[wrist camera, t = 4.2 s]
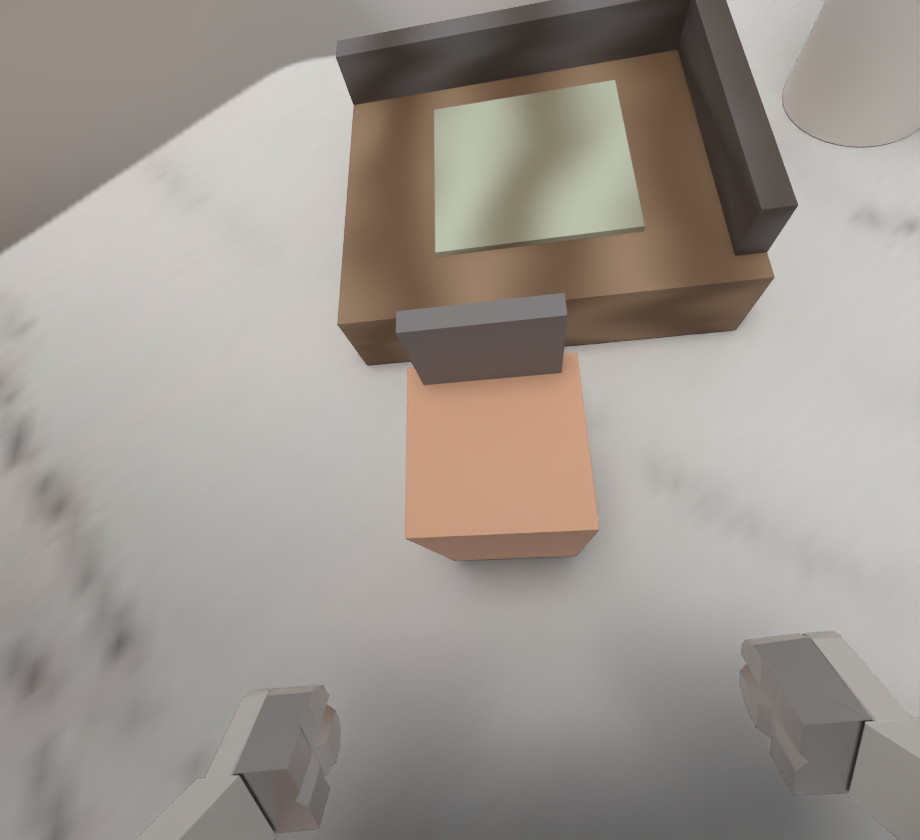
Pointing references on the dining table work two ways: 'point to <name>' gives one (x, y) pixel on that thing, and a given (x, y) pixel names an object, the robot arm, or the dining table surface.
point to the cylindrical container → (859, 73)
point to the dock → (560, 170)
